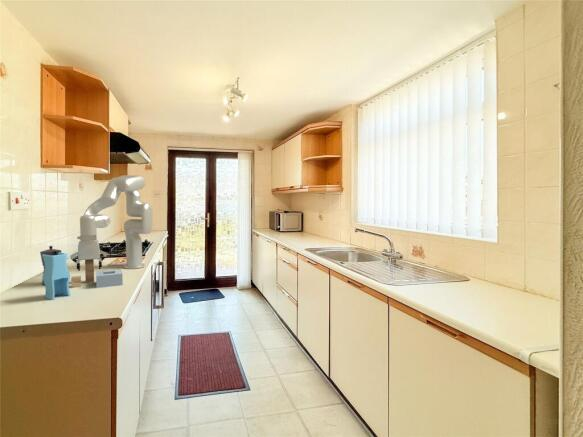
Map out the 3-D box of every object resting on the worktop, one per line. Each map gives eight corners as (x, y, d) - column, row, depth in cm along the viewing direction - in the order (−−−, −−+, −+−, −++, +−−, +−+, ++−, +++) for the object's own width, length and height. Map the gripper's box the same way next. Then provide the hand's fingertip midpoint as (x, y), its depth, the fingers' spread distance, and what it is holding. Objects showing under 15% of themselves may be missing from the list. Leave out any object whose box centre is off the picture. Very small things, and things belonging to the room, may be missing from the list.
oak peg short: (72, 286, 177) (71, 276, 177) (81, 285, 179) (80, 275, 179) (71, 287, 174) (71, 278, 173) (80, 286, 176) (80, 277, 175)
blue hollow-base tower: (61, 293, 164) (60, 252, 163) (70, 295, 161) (69, 253, 159) (43, 297, 157) (41, 254, 156) (52, 300, 154) (50, 256, 152)
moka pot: (57, 279, 190) (56, 243, 189) (69, 283, 182) (68, 246, 180) (37, 282, 183) (35, 245, 181) (48, 287, 174) (47, 248, 172)
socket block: (96, 282, 184) (96, 271, 184) (121, 279, 190) (120, 269, 190) (96, 287, 174) (96, 276, 174) (122, 284, 180) (122, 273, 180)
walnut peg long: (85, 281, 186) (85, 259, 185) (94, 280, 188) (93, 259, 187) (85, 283, 183) (84, 261, 182) (94, 282, 185) (93, 260, 184)
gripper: (69, 240, 176) (70, 272, 177) (107, 238, 185) (107, 269, 186) (69, 238, 183) (71, 269, 184) (106, 236, 191) (107, 266, 193)
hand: (89, 269), depth 185 cm, fingers open, 9 cm apart
